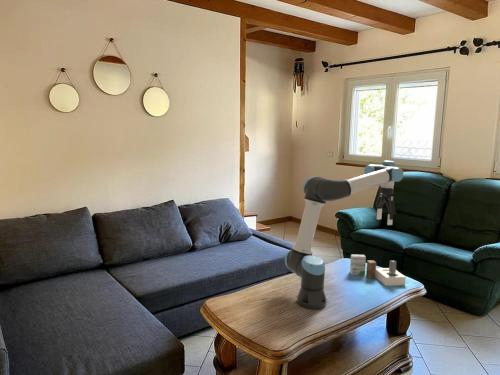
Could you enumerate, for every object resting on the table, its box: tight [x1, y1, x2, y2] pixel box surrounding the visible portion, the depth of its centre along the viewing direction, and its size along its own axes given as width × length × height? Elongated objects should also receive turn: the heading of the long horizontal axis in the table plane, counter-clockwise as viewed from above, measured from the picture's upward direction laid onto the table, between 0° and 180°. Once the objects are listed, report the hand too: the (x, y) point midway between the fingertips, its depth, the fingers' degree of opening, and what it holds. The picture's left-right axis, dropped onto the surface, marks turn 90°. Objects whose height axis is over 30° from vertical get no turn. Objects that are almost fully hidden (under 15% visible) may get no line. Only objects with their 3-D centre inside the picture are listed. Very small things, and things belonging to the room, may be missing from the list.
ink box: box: [349, 254, 367, 276], centre depth 227 cm, size 9×5×12 cm, turn 84°
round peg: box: [388, 259, 397, 276], centre depth 214 cm, size 4×4×12 cm
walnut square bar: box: [365, 259, 377, 279], centre depth 222 cm, size 4×4×10 cm
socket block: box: [375, 267, 406, 287], centre depth 218 cm, size 12×14×5 cm
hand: (384, 221), depth 218 cm, fingers open, 13 cm apart
